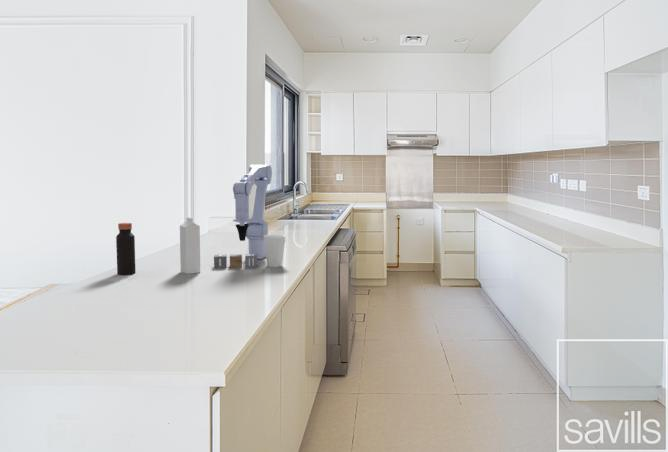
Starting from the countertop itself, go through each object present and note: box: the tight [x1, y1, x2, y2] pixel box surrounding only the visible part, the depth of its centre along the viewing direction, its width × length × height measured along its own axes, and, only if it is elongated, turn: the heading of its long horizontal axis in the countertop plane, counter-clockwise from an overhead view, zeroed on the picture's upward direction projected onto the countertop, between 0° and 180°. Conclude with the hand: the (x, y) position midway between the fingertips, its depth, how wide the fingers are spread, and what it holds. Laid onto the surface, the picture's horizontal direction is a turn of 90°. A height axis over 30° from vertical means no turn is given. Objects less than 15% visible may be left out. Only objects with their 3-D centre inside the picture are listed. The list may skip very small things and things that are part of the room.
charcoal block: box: [213, 254, 228, 269], centre depth 240 cm, size 5×5×5 cm
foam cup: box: [264, 234, 286, 268], centre depth 243 cm, size 10×9×13 cm
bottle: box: [115, 222, 136, 276], centre depth 222 cm, size 7×7×20 cm
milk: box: [179, 217, 201, 275], centre depth 226 cm, size 6×6×22 cm
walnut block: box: [229, 253, 243, 269], centre depth 241 cm, size 5×5×5 cm
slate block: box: [244, 253, 258, 269], centre depth 242 cm, size 5×5×5 cm
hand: (242, 240), depth 246 cm, fingers closed
